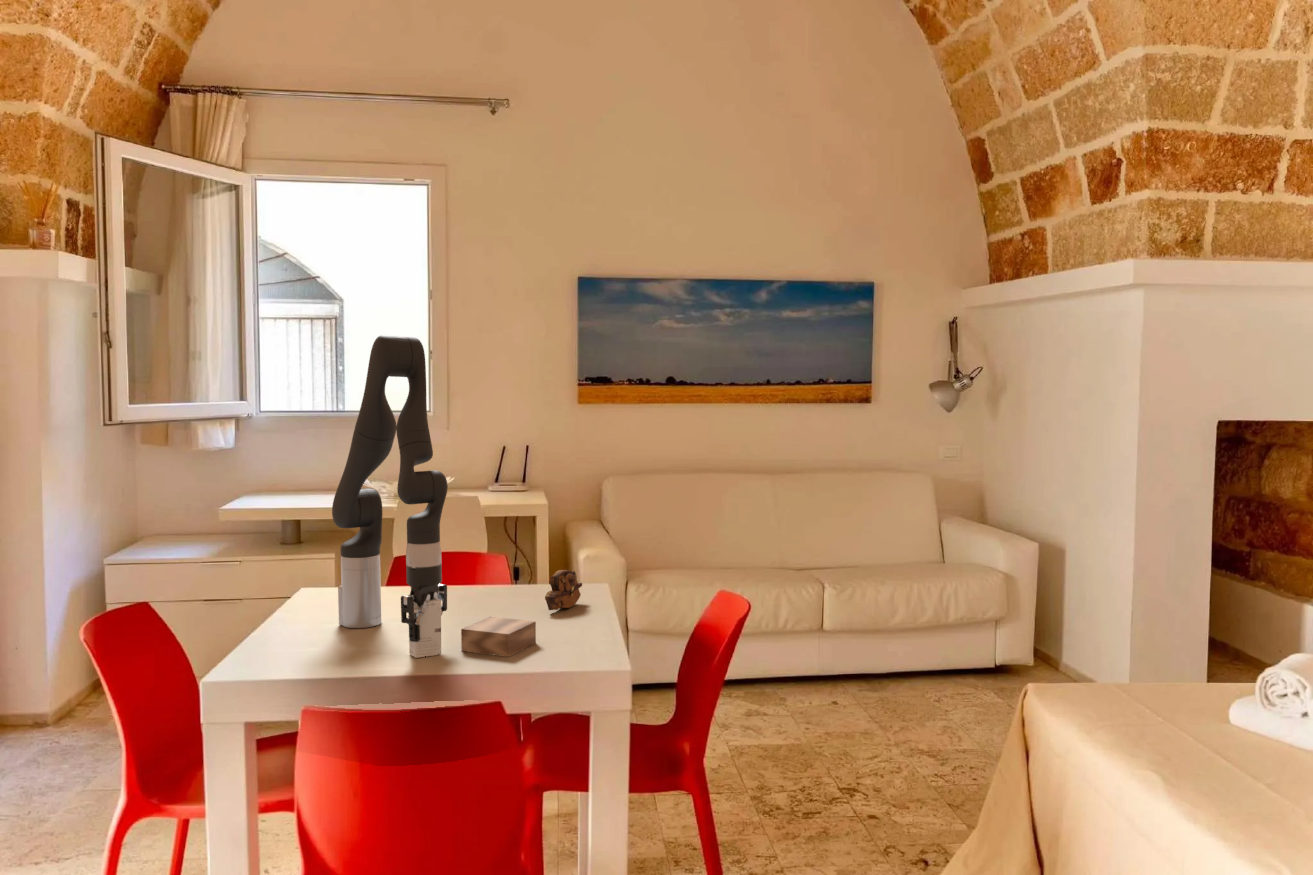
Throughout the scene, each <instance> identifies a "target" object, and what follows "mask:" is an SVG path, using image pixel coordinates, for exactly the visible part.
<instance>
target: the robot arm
mask: <svg viewBox="0 0 1313 875" xmlns="http://www.w3.org/2000/svg"><path fill="white" fill-rule="evenodd" d="M369 355H370V356H369V361H368V368H367V374H366V379H365V386H364V391H363V396H362V400H361V404H360V409H359V412H358V415H357V419H356V423H355V425H354V430H353V433H352V438H351V444H350V448H349V452H348V456H347V459H346V462H345V467H344V470H343V472H342V475H341V478H340V481H339V484H338V486H337V489H336V491H335V494H334V497H333V502H332V509H331V515H332V521H333V522H334V525H336V526H337V528H341V529H355V528H359V530H358V532H357V533H356V534H355V535H354V536H353V537H351V538H350V539H348V540H346V541H344V542H343V543H342V544H341V545H340V575H341V578H340V579H341V580H340V581H341V585H338V588H337V596H338V598H337V599H338V601H337V602H338V625H340V626H343V627H344V628H348V629H365V628H371V627H375V626H376V627H377V626H379V625H381V624H382V589H381V588H382V587H381V586H382V585H381V581H382V580H381V544H382V541H383V540H382V537H383V536H382V535H383V502H382V498H381V495H380V493H379V491H377V490H376V489H374V488H362V487H363V485H364V484H365V482H366V481H367V480H368V478H369V477H370V476H371V475H372V474H373V473H374V472H375V471H376V470H377V469H378V467H380V466H381V465H382V463H383V462H384V461H385V460H387V457H388V456H390V455H389V454H390V452H391V451H392V447H393V444H394V440H395V438H396V436H397V444H398V450H399V455H400V456H399V458H400V460H399V461H400V462H399V474H398V481H397V488H396V490H397V496H398V498H399V499H400V500H401V502H402V503H404V504H405V505H421V504H427V505H426V507H425V509H424V510H423V511H422V512H418V513H416V514H412V515H410V516H409V517H408V518H407V520H406V550H405V564H406V565H405V566H406V567H405V569H406V584H407V585H408V586H409V588H410V592H409V594H408V595H401V596H400V612H401V613H400V615H401V617H400V619H401V623H402V624H406V625H408V639H410V641H412V642H418V641H420V625H419V622H420V619H421V616H422V615H423V614H424V612H425V609H426V606H427V603H428V602H429V600H431V599H439V600H441V616H442V615H443V613H444V612H447V610H448V585H447V584H445V583H444V584H443V583H442V582H443V573H442V571H443V570H442V568H443V566H442V565H443V564H442V546H441V530H440V529H441V526H440V525H441V518H442V514H443V513H442V512H443V508H444V505H445V501H446V499H447V498H446V497H447V493H448V490H449V489H448V480H447V478H446V476H445V474H444V473H443V472H442V471H440V470H423V471H419V470H417V471H415V466H418V465H421V464H424V463H428V462H429V461H431V459H432V458H433V454H434V451H433V450H434V449H433V446H432V445H433V444H432V438H431V435H430V434H431V433H430V429H429V428H430V427H429V421H428V409H427V403H428V402H427V369H426V366H427V365H426V354H425V349H424V345H423V343H422V342H421V340H420V338H417V337H414V336H413V337H412V336H404V335H390V334H389V335H388V334H383V335H378V336H377V337H376V339H375V340H374V341H373V344H372V346H371V350H370V354H369ZM389 377H395V378H401V377H402V378H407V382H408V394H407V397H406V401H405V402H404V405H403V406H402V409H401V411H400V413H399V415H398V418H397V421H396V418H395V414H394V413H393V411H392V408H391V406H390V404H389V402H388V399H387V397H386V385H387V384H386V383H387V380H388V378H389ZM415 603H417V604H418V606H419V607H420V609H419V610H415V609H414V604H415ZM414 614H417V615H416V618H415V619H414Z"/></svg>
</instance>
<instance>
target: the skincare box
mask: <svg viewBox="0 0 1313 875" xmlns="http://www.w3.org/2000/svg"><path fill="white" fill-rule="evenodd" d="M441 605H442V600H439V599H431V600H429V602H428V603H427V606H426V609H425V612H424V614H423V615H422V616H421V619H420V622H419V625H420V641H418V642H412V641H410V639H409V638H408V639H409V640H408V643H409V644H408V645H409V648H408V649H409V650H408V651H409V654H411V655H410V656H412V657H413V656H414V657H415V658H414V657H413V658H414V659H418V658H425V656H426V657H432V656H439V655H442V615H441ZM414 609H415V610H419V609H420V607H419V606H418V604H417V603H415V604H414ZM416 615H417V614H414V619H415V618H416ZM438 654H439V655H438Z"/></svg>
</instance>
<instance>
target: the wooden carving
mask: <svg viewBox="0 0 1313 875" xmlns="http://www.w3.org/2000/svg"><path fill="white" fill-rule="evenodd" d="M577 579H578V578H577V574H576V571H575V570H569V569H559V570H556V571H555V573H553V575H551V576H550V579H549V585H550V587H551V590H549V591H548V592H546V594H545V597H544V600H545V602H546V605H547V608H548V611H557V610H559V609H570V608H573V606H574V605H576V604H577V602H578V601H579V599H580V597H581V594H582V593H581V592H580V588H582V587H583V582H578V580H577Z"/></svg>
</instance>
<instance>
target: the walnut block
mask: <svg viewBox="0 0 1313 875" xmlns="http://www.w3.org/2000/svg"><path fill="white" fill-rule="evenodd" d="M536 624H537V622H536V620H525V619H517V618H516V619H514V618H505V617H497V616H488V617H486V618H484V619H482V620H479V621H476V622H474V623H472V624H469V625H468V626H464V627H463V628H461V629H460V633H461V634H460V637H461V642H460V643H461V652H464V651H468V652H467V653H472V652H473V654H481V653H482V654H483V655H489V654H492V655H491V656H497V655H501V656H500V657H505V656H509V657H511V656H513V655H515V654H518V653H519V652H521V651H523V650H525V649H527V648H529V647H531V646H533V645H535V644H536V643H537V638H536V637H537V635H536V634H537V633H536V632H537V630H536V628H537V627H536ZM530 645H531V646H530ZM528 646H529V647H528ZM526 647H527V648H526ZM522 649H523V650H522ZM518 651H519V652H518ZM514 653H515V654H514ZM493 654H495V655H493ZM512 654H513V655H512ZM510 655H511V656H510Z"/></svg>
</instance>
